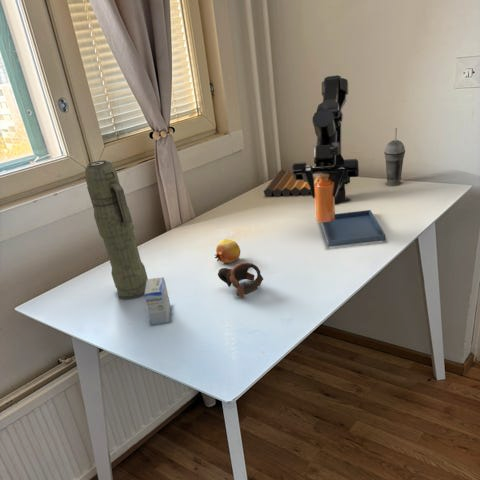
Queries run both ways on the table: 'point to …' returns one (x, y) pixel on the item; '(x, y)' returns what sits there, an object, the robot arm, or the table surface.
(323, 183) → the orange bottle
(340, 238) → the blue rectangular tray
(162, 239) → the table surface
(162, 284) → the medicine box
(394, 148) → the beverage cup
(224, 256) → the fruit
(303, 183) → the pan flute
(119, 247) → the thermos
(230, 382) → the table surface
